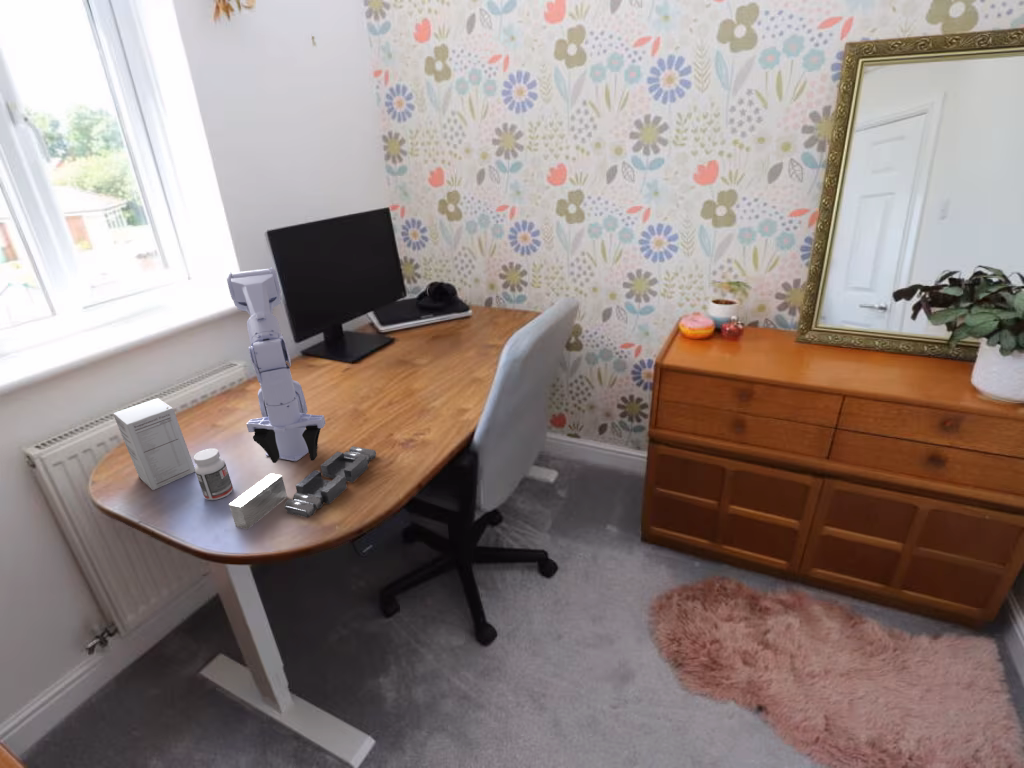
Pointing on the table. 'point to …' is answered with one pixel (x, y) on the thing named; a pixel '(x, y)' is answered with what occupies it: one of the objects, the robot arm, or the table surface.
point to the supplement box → (155, 442)
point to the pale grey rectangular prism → (258, 501)
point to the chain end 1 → (314, 494)
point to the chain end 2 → (348, 463)
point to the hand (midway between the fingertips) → (295, 459)
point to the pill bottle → (212, 474)
